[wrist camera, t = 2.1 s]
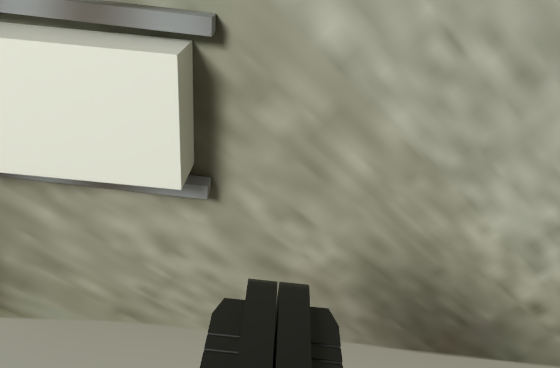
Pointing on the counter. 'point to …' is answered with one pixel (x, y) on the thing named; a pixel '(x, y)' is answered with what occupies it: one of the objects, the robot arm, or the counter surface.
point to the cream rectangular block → (96, 106)
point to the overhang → (91, 8)
